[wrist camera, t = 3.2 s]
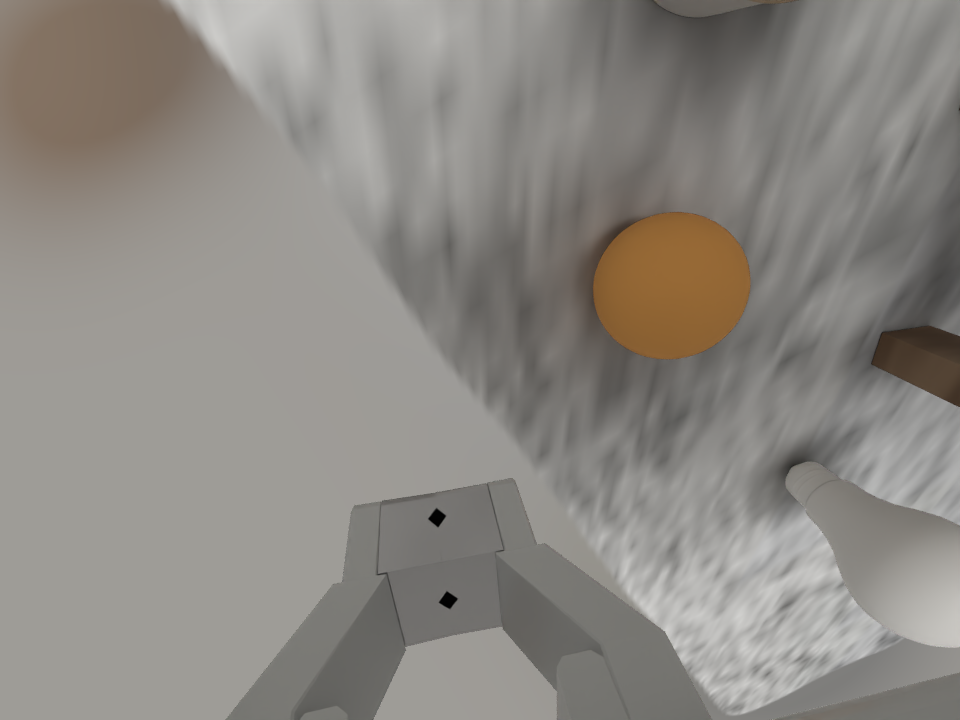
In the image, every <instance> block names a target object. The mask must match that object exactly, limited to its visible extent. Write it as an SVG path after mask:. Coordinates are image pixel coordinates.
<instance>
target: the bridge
mask: <svg viewBox="0 0 960 720" xmlns="http://www.w3.org/2000/svg"><path fill="white" fill-rule="evenodd" d="M959 110H960V109H959ZM872 365H874V366H876V367H878V368H880V369H882V370H884V371H886V372H888V373H890V374H892V375H895V376H897V377H899V378H901V379H903V380H905V381H907V382H909V383H911V384H913V385H915V386H917V387H919V388H921V389H923V390H925V391H927V392H929V393H931V394H933V395H935V396H938V397H940V398H942V399H944V400H946V401H948V402H950V403H952V404H954V405H956V406H958V407H960V336H957V335H954V334H952V333H949V332H946V331H943V330H940V329H938V328H935V327H932V326H924V327H918V328H911V329H904V330H897V331H891V332H884V333H882V335H881V338H880V341H879V344H878V347H877V350H876V352H875V355H874V358H873V361H872Z"/></svg>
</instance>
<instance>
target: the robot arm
mask: <svg viewBox="0 0 960 720" xmlns="http://www.w3.org/2000/svg"><path fill="white" fill-rule="evenodd" d="M502 626H503V630H504V631H505V632H506V633H507V634H508V635H509V637H510V638H511V639H512V640H513V641H514V642H515V644H516V645H517V646H518V647H519V648H520V649H521V651H522V652H523V653H524V654H525V655H526V656H527V657H528V659H529V660H530V661H531V662H532V663H533V664H534V666H535V667H536V668H537V669H538V670H539V671H540V672H541V674H542V675H543V676H544V677H545V678H546V679H547V681H548V682H549V683H550V684H551V685H552V686H553V688H554V689H555V690H556V691H557V720H712V718H711V716H710V715H709V713H708V711H707V709H706V707H705V705H704V704H703V702H702V700H701V698H700V696H699V694H698V692H697V691H696V689H695V687H694V685H693V683H692V681H691V679H690V678H689V676H688V674H687V672H686V670H685V668H684V666H683V665H682V663H681V661H680V659H679V657H678V655H677V653H676V652H675V650H674V648H673V646H672V644H671V642H670V641H669V639H668V637H667V635H666V633H665V631H663V630H662V629H661V628H659V627H658V626H656V625H655V624H654V623H652V622H651V621H650V620H648V619H647V618H646V617H644V616H643V615H642V614H640V613H639V612H638V611H636V610H635V609H633V608H632V607H631V606H629V605H628V604H627V603H625V602H624V601H623V600H621V599H620V598H618V597H617V596H616V595H615V594H613V593H612V592H610V591H609V590H608V589H606V588H605V587H604V586H602V585H601V584H600V583H598V582H597V581H596V580H594V579H593V578H591V577H590V576H589V575H587V574H586V573H585V572H583V571H582V570H581V569H579V568H578V567H577V566H575V565H574V564H573V563H571V562H570V561H569V560H567V559H566V558H564V557H563V556H562V555H560V554H559V553H558V552H556V551H555V550H554V549H552V548H551V547H550V546H548V545H547V544H545V543H544V544H538V545H537V543H536V540H535V537H534V534H533V532H532V529H531V526H530V523H529V520H528V517H527V514H526V511H525V509H524V505H523V503H522V500H521V497H520V494H519V491H518V488H517V485H516V482H515V480H513V479H512V478H509V479H504V480H499V481H494V482H488V483H487V484H480V485H474V486H469V487H464V488H458V489H453V490H447V491H442V492H436V493H431V494H424V495H417V496H411V497H405V498H397V499H391V500H384V501H382V502H375V503H369V504H362V505H355V506H354V507H353V510H352V512H351V517H350V525H349V533H348V541H347V549H346V556H345V565H344V572H343V580H342V582H341V583H337V584H333V585H332V586H331V588H330V589H329V590H328V591H327V593H326V594H325V595H324V597H323V598H322V599H321V600H320V601H319V603H318V604H317V605H316V606H315V608H314V609H313V610H312V612H311V613H310V614H309V615H308V617H307V618H306V619H305V620H304V622H303V623H302V624H301V625H300V627H299V628H298V629H297V630H296V632H295V633H294V634H293V636H292V637H291V638H290V639H289V640H288V642H287V643H286V644H285V646H284V647H283V648H282V649H281V651H280V652H279V653H278V654H277V656H276V657H275V658H274V659H273V661H272V662H271V663H270V665H269V666H268V667H267V668H266V670H265V671H264V672H263V673H262V674H261V676H260V677H259V678H258V680H257V681H256V682H255V683H254V685H253V686H252V687H251V688H250V690H249V691H248V692H247V693H246V695H245V696H244V697H243V698H242V700H241V701H240V702H239V703H238V705H237V706H236V707H235V708H234V710H233V711H232V712H231V714H230V715H229V716H228V718H227V719H226V720H373V719H374V717H375V715H376V712H377V710H378V708H379V706H380V704H381V702H382V699H383V698H384V695H385V693H386V691H387V689H388V687H389V685H390V682H391V681H392V678H393V676H394V674H395V672H396V670H397V668H398V666H399V664H400V661H401V659H402V657H403V655H404V653H405V651H406V649H405V647H406V646H411V645H415V644H419V643H423V642H427V641H431V640H435V639H439V638H444V637H448V636H452V635H457V634H463V633H468V632H474V631H479V630H485V629H490V628H496V627H502ZM771 720H960V672H959V673H955V674H951V675H947V676H943V677H939V678H935V679H931V680H927V681H923V682H919V683H916V684H912V685H907V686H903V687H899V688H895V689H891V690H887V691H883V692H879V693H875V694H871V695H867V696H863V697H859V698H855V699H851V700H847V701H843V702H839V703H835V704H831V705H827V706H823V707H819V708H815V709H811V710H807V711H803V712H799V713H795V714H791V715H787V716H783V717H779V718H775V719H771Z"/></svg>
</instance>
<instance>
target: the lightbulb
mask: <svg viewBox="0 0 960 720" xmlns="http://www.w3.org/2000/svg"><path fill="white" fill-rule="evenodd" d="M785 486H786V488H787V490H788V491H789V492H790V493H791V494H792V496H793V497H794V498H796V499H797V501H798V502H799V503H800V504H802V505H803V506H804V507H805V509H806V513H807V514H808V516H809V518H810V519H811V520H812V521H813V522H814V523H815V524H816V525H817V526H818V527H819V529H820V530H821V531H822V533H823V534H824V536H825V537H826V538H827V540H828V542H829V544H830V546H831V548H832V550H833V552H834V555H835V559H836V562H837V565H838V568H839V571H840V573H841V576H842V578H843V581H844V583H845V586H846V587H847V589H848V591H849V592H850V594H851V595H852V597H853V598H854V600H855V601H856V603H857V604H858V605H859V606H860V607H861V608H862V609H863V610H864V611H865V612H866V613H867V614H868V615H869V616H871V617H872V618H873V619H874V620H876V621H877V622H878V623H880V624H881V625H882V626H884V627H885V628H887V629H889V630H890V631H892V632H894V633H896V634H897V635H900V636H902V637H905V638H908V639H910V640H913V641H916V642H919V643H923V644H926V645H931V646H938V647H960V526H959V525H957V524H955V523H953V522H951V521H949V520H947V519H945V518H942V517H940V516H937V515H933V514H930V513H926V512H923V511H920V510H916V509H912V508H907V507H903V506H899V505H895V504H892V503H889V502H887V501H884V500H882V499H879V498H877V497H875V496H873V495H871V494H869V493H867V492H866V491H864V490H863V489H861V488H860V487H858V486H857V485H855V484H854V483H852V482H850V481H847V480H842V479H840V478H839V477H838V476H837V475H835V474H833V473H832V472H831V471H830V470H828V469H826V468H825V467H824V466H822V465H821V464H819V463H817V462H804V463H801V464H798V465H795V466H793V467H792V468H791V469H790V470H789V473H788V475H787V477H786V480H785Z"/></svg>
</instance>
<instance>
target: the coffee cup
mask: <svg viewBox="0 0 960 720" xmlns="http://www.w3.org/2000/svg"><path fill="white" fill-rule="evenodd" d="M653 1H654V2H656V3H657V4H658V5H660V6H661V7H662V8H664V9H666V10H668V11H670V12H672V13H674V14H677V15H680V16H685V17H697V18H698V17H707V16H713V15H717V14H721V13H725V12H729V11H734V10H738V9H742V8H746V7H751V6H755V5H759V4H763V3H766V4H778V3H787V2H792V1H797V0H653Z"/></svg>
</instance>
